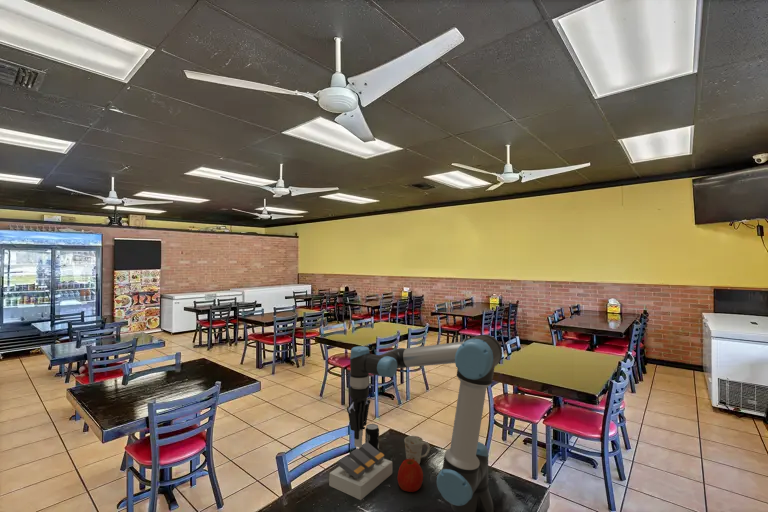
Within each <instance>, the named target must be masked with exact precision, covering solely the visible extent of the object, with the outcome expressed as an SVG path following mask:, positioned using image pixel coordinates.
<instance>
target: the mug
mask: <svg viewBox="0 0 768 512" xmlns="http://www.w3.org/2000/svg"><path fill="white" fill-rule="evenodd" d="M403 441H404V447H405V460H406V459H413V460H415V461H417V463H418V464H419V465H420V463H421V459H422V458H426V457H427V456H428V455H429V453H430V449H431V446H430V443H429V442H428V441H424V440H423V438H422V437H420V436H417V435H409V436H406V437H405V438H404V440H403ZM423 446H426V448H427V449H426V452H425V454H422V451H423Z"/></svg>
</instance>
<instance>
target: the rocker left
mask: <svg viewBox="0 0 768 512" xmlns="http://www.w3.org/2000/svg"><path fill="white" fill-rule="evenodd" d="M339 466H340V467H341V468H342V469H344V470H345V471H346V472H348V473H349V474H350V475H352V476H353V477H354V478H356V479H358V478H359V477H360V476H362V475H363V474H364V471H365V468H364V467H362V466H360V465H358V464H357V463H356V462H354V461H353V460H351V458H350V457H349V456H348V455H345V456H344V457H342V458H341V459H339V460H338V463H337V467H339Z"/></svg>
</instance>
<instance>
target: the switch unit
mask: <svg viewBox="0 0 768 512" xmlns="http://www.w3.org/2000/svg"><path fill="white" fill-rule="evenodd" d="M350 459H351V458H350ZM351 460H353V459H351ZM353 461H354V460H353ZM354 462H355V461H354ZM328 475H329V478H328V479H329V481H328V483H329V487H331V488H334V489H335V490H338V491H340V492H343V493H344V494H347V495H348V496H351V497H353V498H355V499H357V500H360V501H362V500H363V499H365V497H366V496H367V495H369V494H370V493H372V492H373V491H374V490H375V489H376V488H377V487H378V486H380V484H382V483H383V482H384V481H386V480H387V479H388V478H389V477H390V476H391V475H393V461H392V460H389V459H387V458H384V459H383V460H382V461H381V462H380V463H378V464H376V463H375V465H374V467H373V468H372V469H370V470H369V471H368V472H366V471H364V474H363V475H362V476H360V477H359V478H358V479H356V478H354V477H353V476H352V475H350V474H349V473H348V472H346V471H345V470H344V469H342V468H341V467H340V466H337V467H336V468H334V469H333V470H332V471H330V472H329V474H328Z"/></svg>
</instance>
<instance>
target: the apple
mask: <svg viewBox="0 0 768 512" xmlns="http://www.w3.org/2000/svg"><path fill="white" fill-rule="evenodd" d="M423 481H424V472H423V469H422V467H421V465H420V464H418V463H417V461H415V460H413V459H406V458H405V459H404V460H402V462H401V464H400V465H399V468H398V471H397V484H398V486H399V488H400V489H401V490H402V491H405V492H410V493H411V492H412V493H415V492H417V491H418V490H420V489H421V488H422V484H423Z"/></svg>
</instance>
